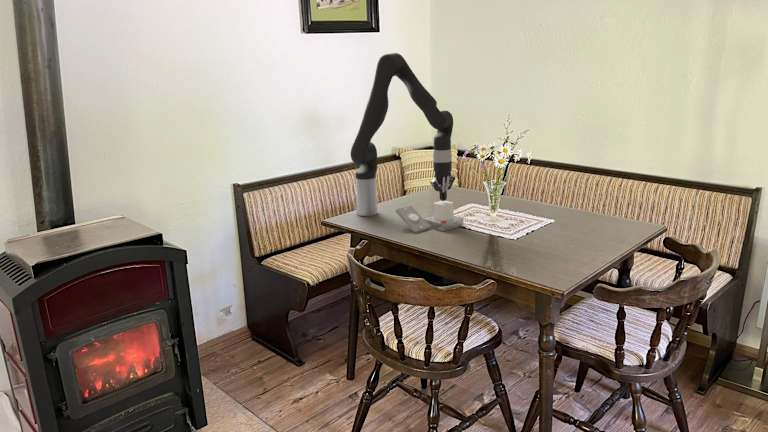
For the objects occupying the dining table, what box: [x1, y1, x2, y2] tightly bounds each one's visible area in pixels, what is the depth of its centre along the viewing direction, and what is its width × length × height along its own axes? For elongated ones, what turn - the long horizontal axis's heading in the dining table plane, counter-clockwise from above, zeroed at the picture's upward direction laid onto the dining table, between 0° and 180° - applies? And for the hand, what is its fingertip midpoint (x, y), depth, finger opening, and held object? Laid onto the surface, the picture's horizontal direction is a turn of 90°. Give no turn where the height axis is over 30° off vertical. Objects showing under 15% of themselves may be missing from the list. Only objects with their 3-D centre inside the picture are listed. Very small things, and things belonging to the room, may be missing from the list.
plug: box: [432, 200, 455, 221], centre depth 248 cm, size 6×6×8 cm
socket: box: [423, 215, 464, 232], centre depth 249 cm, size 12×12×4 cm
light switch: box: [395, 205, 432, 234], centre depth 248 cm, size 8×6×14 cm
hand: (443, 200), depth 247 cm, fingers closed
